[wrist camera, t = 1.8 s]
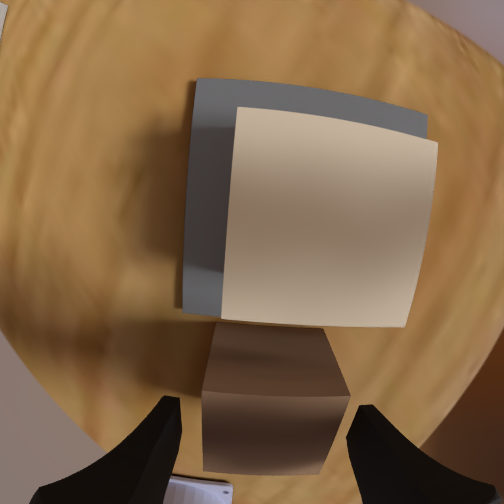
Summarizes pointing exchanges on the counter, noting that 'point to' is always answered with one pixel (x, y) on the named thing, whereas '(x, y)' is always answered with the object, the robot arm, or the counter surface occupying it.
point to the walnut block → (270, 400)
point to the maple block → (325, 220)
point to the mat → (221, 155)
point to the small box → (2, 16)
